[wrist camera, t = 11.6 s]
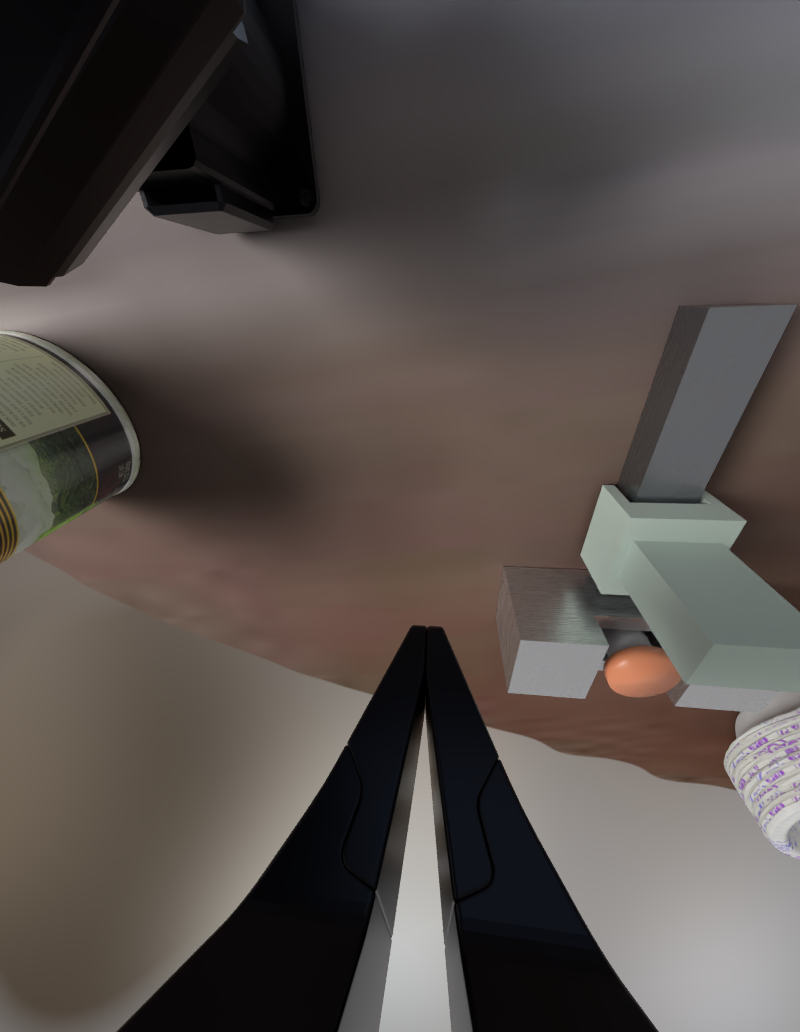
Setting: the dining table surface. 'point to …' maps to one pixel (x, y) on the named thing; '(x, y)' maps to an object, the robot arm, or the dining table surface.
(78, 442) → the coffee can
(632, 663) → the orange knob lever
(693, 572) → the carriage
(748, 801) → the paper bowls
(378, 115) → the dining table surface
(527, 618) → the grey blocky piece
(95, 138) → the robot arm
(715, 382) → the rail
